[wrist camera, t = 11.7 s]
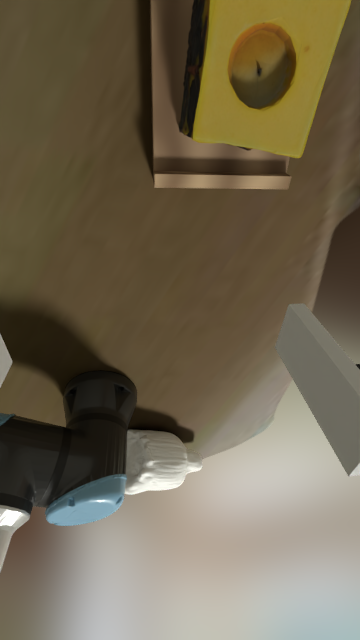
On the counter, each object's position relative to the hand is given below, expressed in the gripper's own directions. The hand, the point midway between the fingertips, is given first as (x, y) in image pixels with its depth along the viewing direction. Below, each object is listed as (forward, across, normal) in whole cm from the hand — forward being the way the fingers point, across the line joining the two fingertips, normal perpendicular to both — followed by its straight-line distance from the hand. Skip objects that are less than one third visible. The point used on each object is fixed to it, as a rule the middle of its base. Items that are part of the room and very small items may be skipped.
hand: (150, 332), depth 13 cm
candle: (+26, +10, +11) cm, 30 cm away
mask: (+32, +2, -62) cm, 70 cm away
